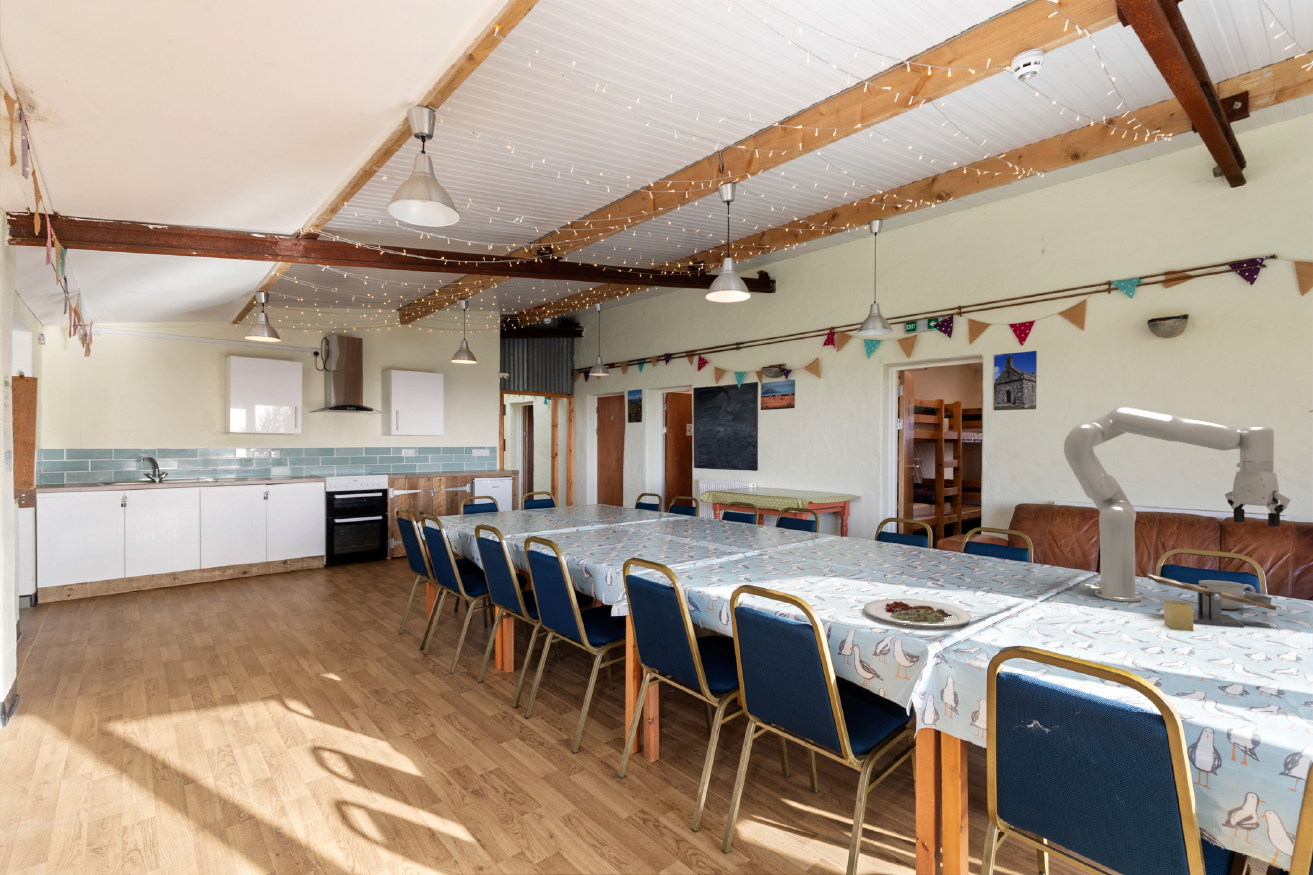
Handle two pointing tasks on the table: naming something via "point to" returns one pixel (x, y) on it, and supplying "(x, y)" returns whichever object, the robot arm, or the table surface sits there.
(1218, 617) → the beam stand
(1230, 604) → the teacup
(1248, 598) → the beam
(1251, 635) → the table surface
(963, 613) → the plated food
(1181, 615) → the block
